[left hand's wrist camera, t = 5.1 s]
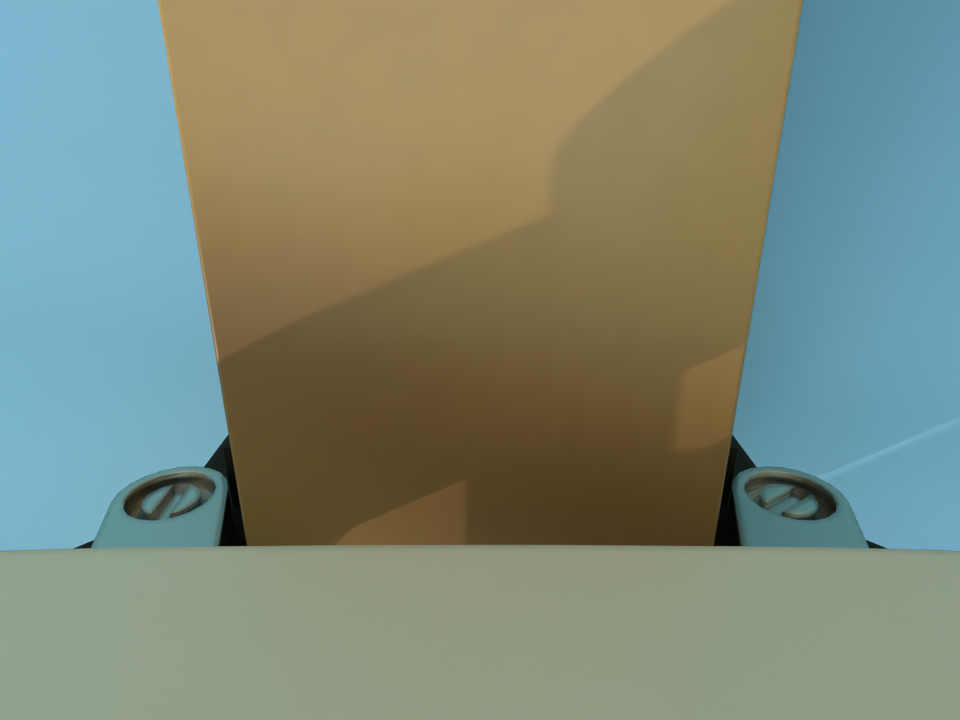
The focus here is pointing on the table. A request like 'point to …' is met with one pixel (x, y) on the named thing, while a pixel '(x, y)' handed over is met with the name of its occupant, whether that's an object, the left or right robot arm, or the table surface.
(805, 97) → the table surface
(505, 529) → the bar
